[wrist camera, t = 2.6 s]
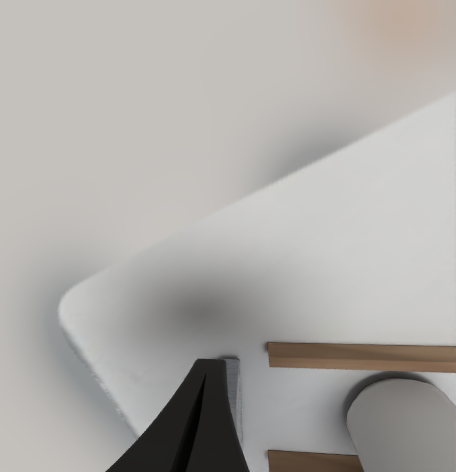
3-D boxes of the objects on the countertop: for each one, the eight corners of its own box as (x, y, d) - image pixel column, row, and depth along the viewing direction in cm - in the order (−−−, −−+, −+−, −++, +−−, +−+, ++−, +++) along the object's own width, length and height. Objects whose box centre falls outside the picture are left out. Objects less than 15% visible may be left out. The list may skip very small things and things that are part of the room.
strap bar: (242, 448, 20) (240, 511, 17) (223, 446, 21) (217, 509, 17) (239, 359, 18) (236, 409, 14) (218, 358, 18) (209, 407, 15)
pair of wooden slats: (435, 468, 20) (450, 492, 18) (268, 457, 21) (269, 478, 19) (464, 346, 17) (484, 363, 15) (268, 342, 18) (269, 357, 17)
